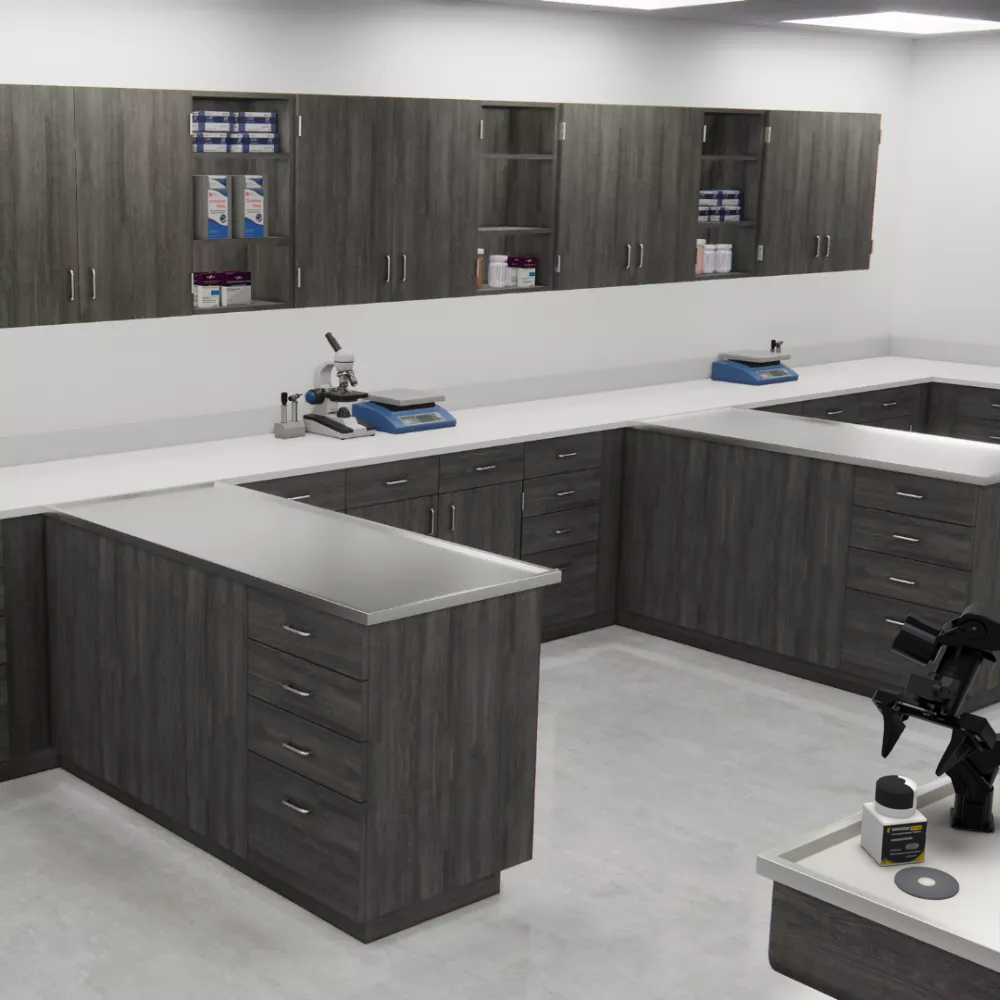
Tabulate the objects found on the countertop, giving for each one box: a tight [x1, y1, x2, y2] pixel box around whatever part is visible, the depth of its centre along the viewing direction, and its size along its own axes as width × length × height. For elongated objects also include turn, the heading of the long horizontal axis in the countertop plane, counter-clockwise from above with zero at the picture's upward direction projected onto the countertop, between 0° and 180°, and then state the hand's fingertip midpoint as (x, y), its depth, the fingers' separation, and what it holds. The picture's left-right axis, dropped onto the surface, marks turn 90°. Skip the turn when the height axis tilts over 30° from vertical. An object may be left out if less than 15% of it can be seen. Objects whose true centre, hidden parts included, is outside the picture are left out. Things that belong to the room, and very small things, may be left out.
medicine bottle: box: [860, 774, 928, 867], centre depth 216 cm, size 7×7×12 cm
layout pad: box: [894, 865, 960, 901], centre depth 209 cm, size 9×9×1 cm
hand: (909, 765), depth 218 cm, fingers open, 9 cm apart
